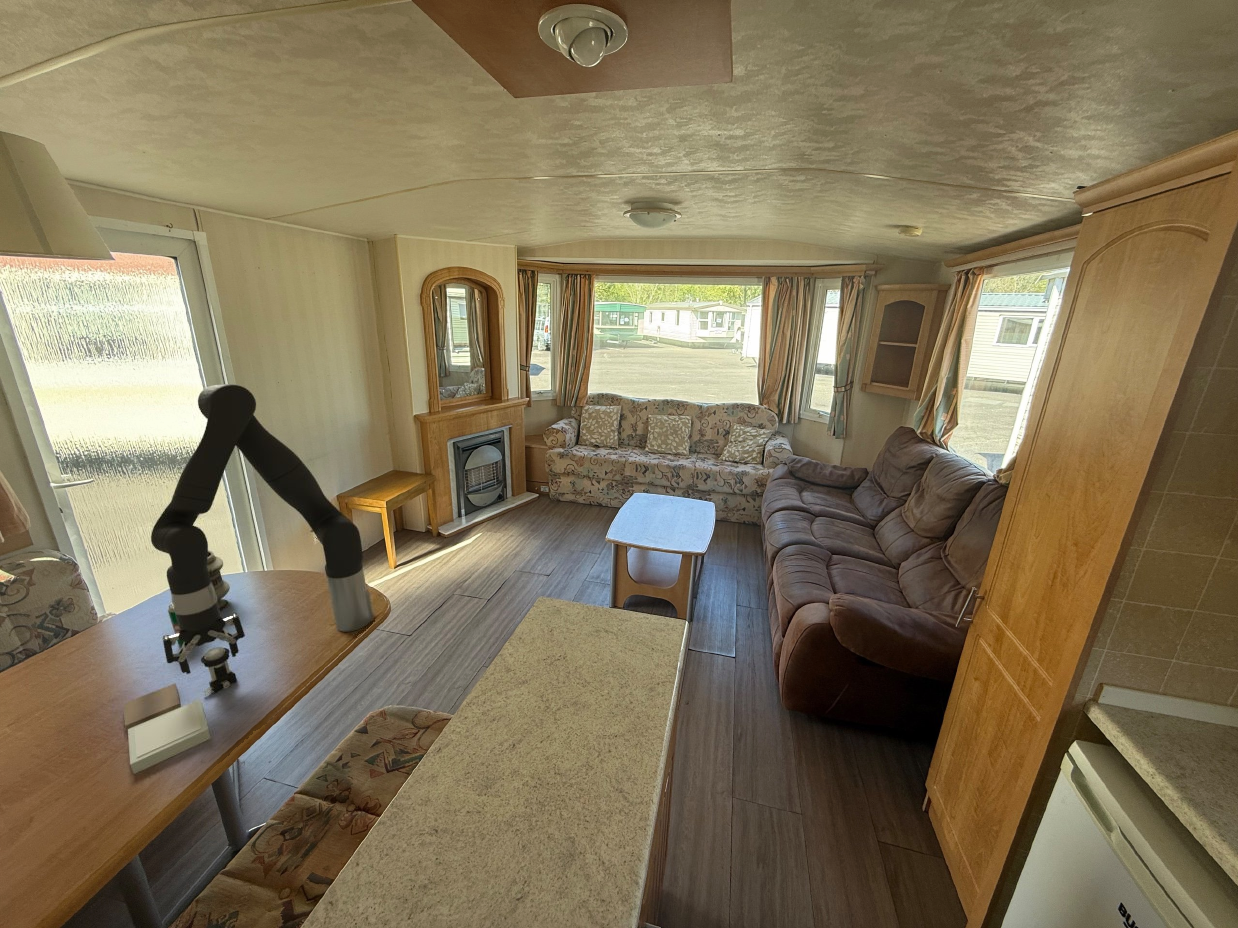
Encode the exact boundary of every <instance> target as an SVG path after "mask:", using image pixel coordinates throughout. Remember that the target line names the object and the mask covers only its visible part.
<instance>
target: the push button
mask: <svg viewBox="0 0 1238 928" xmlns="http://www.w3.org/2000/svg"><path fill="white" fill-rule="evenodd" d="M230 653H231V650H230V648H227V647H223V646H217V647H212V648H210V649H209V650H208V651H206V652H205V653H204V655H202V657H201V658H200V662H201V664H203V665H204V667H205V668H208V670H209V671H208V672H209V674H210V681H209V682H208V685H209V687H207V688H205V689H204V690H202V692H203V693H204V694H203V695H204V696H208V695H209V694H212V693H215V694H217V693H219V692H220V691H222V690H223V689H227V688H229V687H230V686H231V685H232V684H234V685H235V684H236V683H237V682H238V678H237V675H236V673H235V672H234V671H232V669H230V666H229V663H228V660H229V658H230Z"/></svg>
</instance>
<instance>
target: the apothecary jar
mask: <svg viewBox="0 0 1238 928" xmlns="http://www.w3.org/2000/svg"><path fill="white" fill-rule="evenodd" d="M223 566H224V561H223V559H222V558H221V557H219V556H217V555H215V554H214V552H213V551H212V550H208V560H207V568H208V571H209V575H210V579H211V583H212V585H213V587H214V590H215V593H216V596H217V602H218V606H219V610H220V612H222V610H224V609H226V608H228V606H229V605H230V601H229V600H227V599H225V598H224V597H226V595H227V594H228V593H229V591H230V584H229V582H228V581H226V580H224V579H223V577H222V573H221V569H223Z"/></svg>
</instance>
